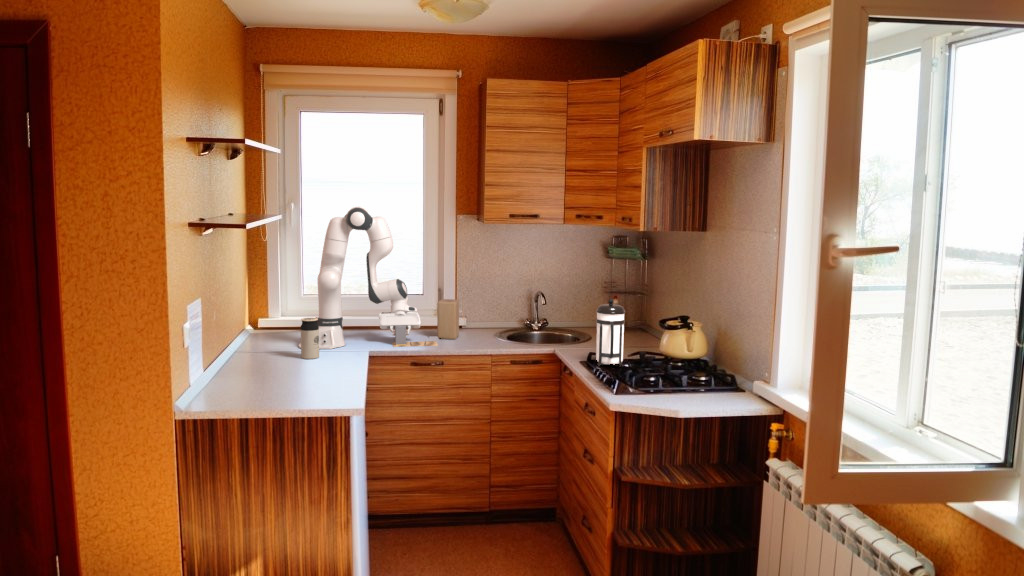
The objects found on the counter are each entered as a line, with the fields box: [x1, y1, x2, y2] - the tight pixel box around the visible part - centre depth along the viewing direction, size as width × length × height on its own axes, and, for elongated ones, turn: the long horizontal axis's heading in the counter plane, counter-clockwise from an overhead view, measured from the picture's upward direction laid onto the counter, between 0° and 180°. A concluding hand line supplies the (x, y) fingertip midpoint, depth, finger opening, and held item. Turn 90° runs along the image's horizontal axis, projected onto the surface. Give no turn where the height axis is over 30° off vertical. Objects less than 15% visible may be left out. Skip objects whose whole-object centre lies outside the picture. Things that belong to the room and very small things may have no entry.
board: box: [391, 340, 439, 348], centre depth 377 cm, size 22×12×2 cm, turn 101°
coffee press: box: [595, 298, 626, 366], centre depth 338 cm, size 17×16×30 cm
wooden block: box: [436, 298, 460, 340], centre depth 402 cm, size 10×10×20 cm
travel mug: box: [300, 317, 320, 360], centre depth 349 cm, size 8×8×18 cm
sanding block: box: [394, 326, 407, 345], centre depth 376 cm, size 5×5×9 cm
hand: (400, 334), depth 375 cm, fingers closed on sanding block, 5 cm apart
